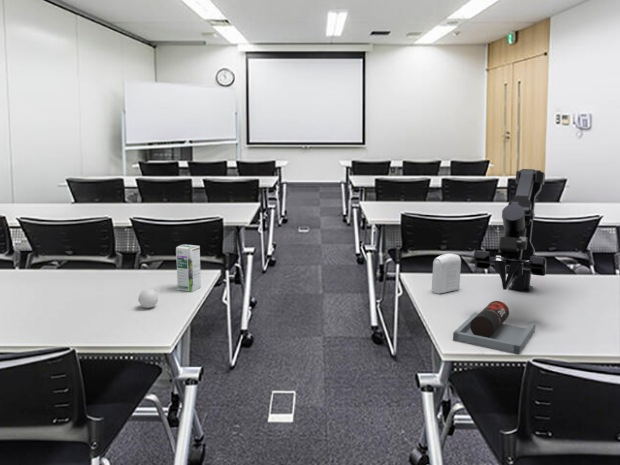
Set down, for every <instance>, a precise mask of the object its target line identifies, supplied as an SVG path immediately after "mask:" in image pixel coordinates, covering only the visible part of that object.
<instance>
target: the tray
mask: <svg viewBox="0 0 620 465" xmlns="http://www.w3.org/2000/svg"><path fill="white" fill-rule="evenodd" d="M479 313H480V312H473V313H472V314H471V315H470V316H469V317H468V318H467V319H466V320H465V321H464V322H462V324H461V325H460V326H458V328H457V329H455V330H454V331H453V334H452V335H453V336H452V341H455V342H456V341H457V342H461V343H466V344H470V345H475V346H478V347H479V346H480V347H484V348H489V349H493V350H499V351H502V352H503V351H504V352H508V353H513V354H517V355H519V354H520V353H521V352H522V351H523V350H524V348H525V346H526V345H527V343H528V341H529V340H530V339H531V337H532V336H533V334H534V332H535V330H536V323H534V322H530V323H529V325H528V326H527V327H521V326H517V325H511V324H505V323H503V324H502V325H501V326H500V327H499V328H498V329H497V330H496V331H495V333H494V334H493V335H492V336H491V337H490V338H487V337H482V336H477V335H474V334H473V333H472V331H471V328H470V324H471V321H472V320H473V319H474V318H475V317H476V316H477V315H478V314H479Z"/></svg>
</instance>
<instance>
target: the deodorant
mask: <svg viewBox="0 0 620 465" xmlns="http://www.w3.org/2000/svg"><path fill="white" fill-rule="evenodd" d="M478 313H479V314H478V315H477V316H476V317H475V318H474V319H473V320H472V321H471V324H470V328H471V331H472V333H473V334H474V335H477V336H482V337H487V338H490V337H491V336H492V335H493V334H494V333H495V331H496V330H497V329H498V328H499V327H500V326H501V325H502V324H504V323H505V321H506V320H507V319H508V318H509V314H510V309H509V307H508V305H507V304H506V303H504V302H503V301H500V300H493V301H491V302H490V303H488V305H486V306H485V307H484V308H483V309H482V311H480V312H478Z"/></svg>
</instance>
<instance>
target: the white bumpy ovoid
mask: <svg viewBox="0 0 620 465" xmlns="http://www.w3.org/2000/svg"><path fill="white" fill-rule="evenodd" d="M137 301H138V303H139V305H140V306H141V307H143V308H145V309H151V308H153V307H155V306H157V304H158V301H159V296H158V293H157V292H156V291H155V290H154V289H150V288H146V289H144V290H142V291H141V292H140V293H139V295H138V300H137Z"/></svg>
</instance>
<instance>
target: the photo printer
mask: <svg viewBox="0 0 620 465" xmlns="http://www.w3.org/2000/svg"><path fill="white" fill-rule="evenodd" d="M461 265H462V258H461V256H460V255H459V254H455V253H444V254H441V255H439V256H437V257H435V258H434V259H433V262H432V274H431V275H432V279H431V290H432V293H434V294H445V293H449V292H453V291H458V290H459V289H460V282H461V269H462V266H461Z"/></svg>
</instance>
